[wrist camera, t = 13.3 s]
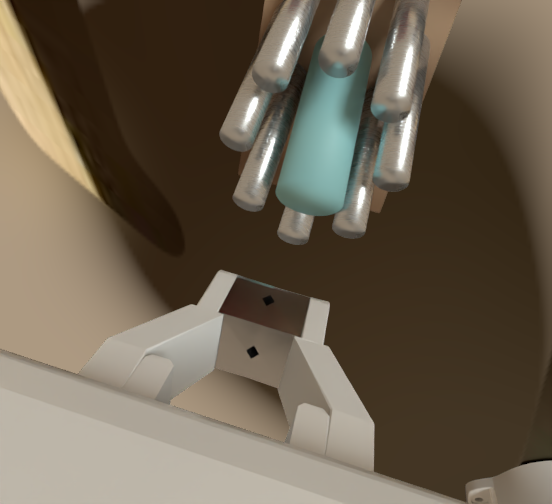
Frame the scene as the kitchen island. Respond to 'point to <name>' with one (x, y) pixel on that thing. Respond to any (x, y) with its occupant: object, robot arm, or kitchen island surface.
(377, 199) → the socket block
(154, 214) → the kitchen island surface
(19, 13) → the kitchen island surface
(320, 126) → the peg
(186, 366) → the robot arm
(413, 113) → the metal rod rack
